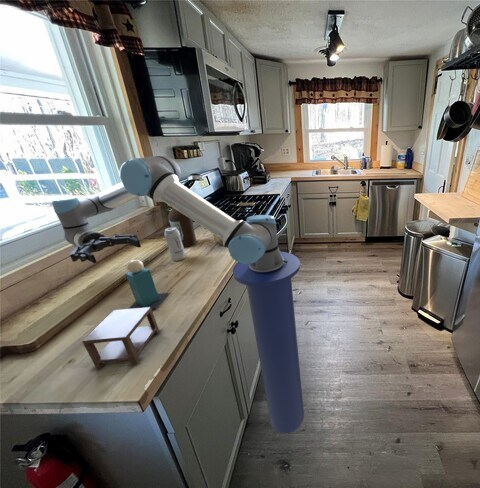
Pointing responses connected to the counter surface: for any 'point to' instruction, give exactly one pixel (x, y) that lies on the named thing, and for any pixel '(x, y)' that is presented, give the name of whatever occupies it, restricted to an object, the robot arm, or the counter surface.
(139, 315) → the small wooden table
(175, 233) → the energy drink can
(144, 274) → the toy
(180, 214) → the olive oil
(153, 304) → the coaster
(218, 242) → the low-poly potato
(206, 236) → the counter surface
